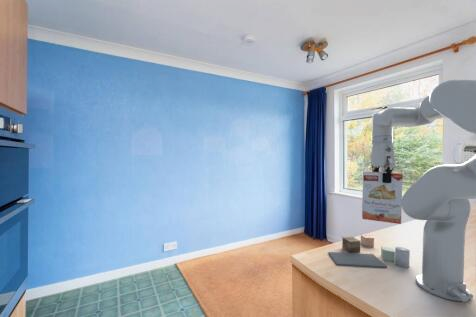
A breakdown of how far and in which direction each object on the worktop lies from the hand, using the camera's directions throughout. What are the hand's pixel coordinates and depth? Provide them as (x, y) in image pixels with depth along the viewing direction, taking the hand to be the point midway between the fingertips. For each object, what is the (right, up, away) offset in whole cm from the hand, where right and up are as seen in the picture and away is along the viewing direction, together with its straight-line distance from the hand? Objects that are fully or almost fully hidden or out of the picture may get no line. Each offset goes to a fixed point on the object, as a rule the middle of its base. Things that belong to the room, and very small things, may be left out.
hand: (381, 181), depth 95 cm
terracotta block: (-1, -31, +8) cm, 32 cm away
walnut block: (-12, -31, +2) cm, 33 cm away
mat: (-15, -31, -7) cm, 35 cm away
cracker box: (0, -17, 0) cm, 17 cm away
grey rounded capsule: (+1, -31, -11) cm, 33 cm away
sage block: (-1, -31, -6) cm, 31 cm away
